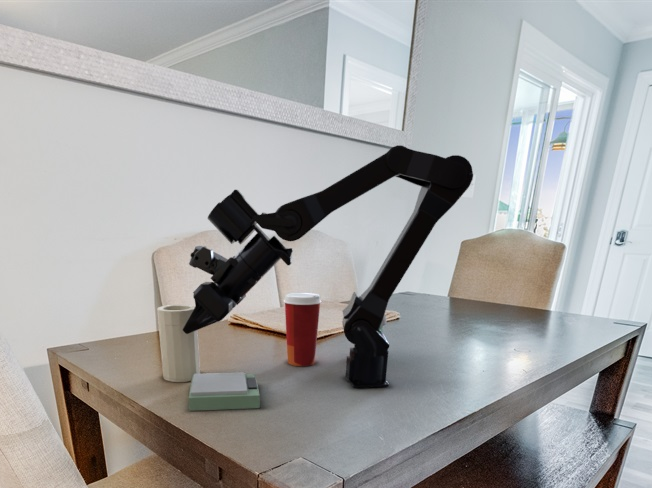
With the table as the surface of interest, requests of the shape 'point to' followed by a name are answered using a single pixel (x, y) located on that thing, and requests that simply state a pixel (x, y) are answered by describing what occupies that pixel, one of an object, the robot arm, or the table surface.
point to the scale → (223, 391)
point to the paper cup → (301, 327)
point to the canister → (177, 343)
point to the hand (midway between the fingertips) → (191, 326)
